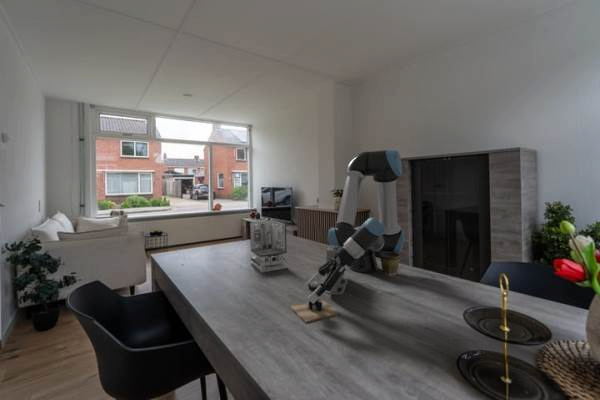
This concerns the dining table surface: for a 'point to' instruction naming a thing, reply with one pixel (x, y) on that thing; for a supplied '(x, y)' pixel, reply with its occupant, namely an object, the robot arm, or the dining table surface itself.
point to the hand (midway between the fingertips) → (309, 292)
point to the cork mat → (313, 311)
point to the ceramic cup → (390, 263)
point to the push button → (318, 303)
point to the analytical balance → (268, 245)
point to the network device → (330, 254)
